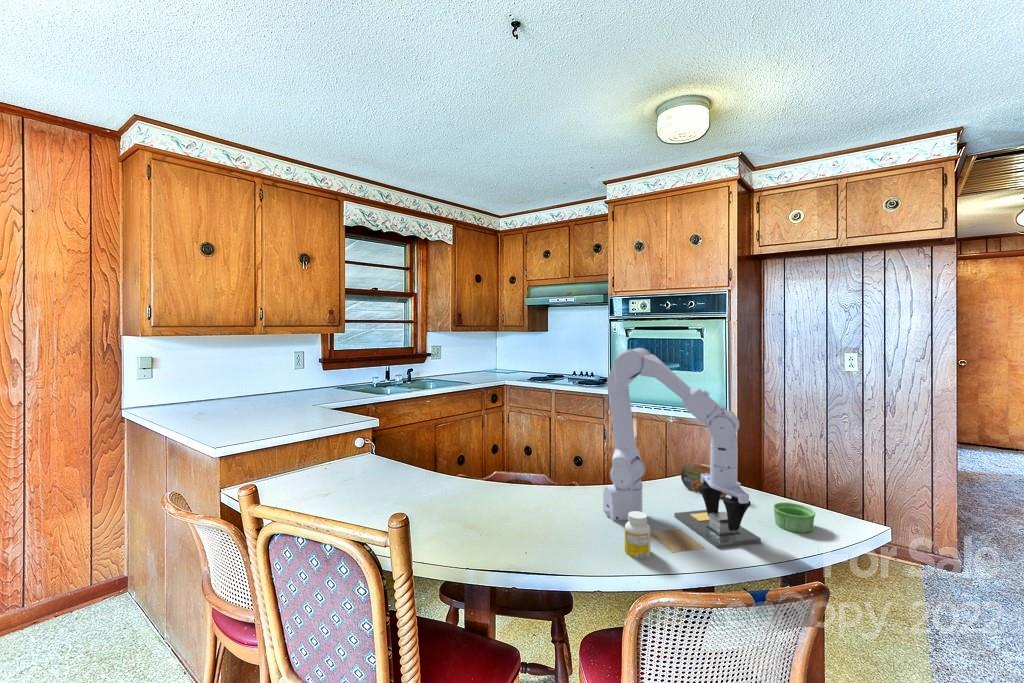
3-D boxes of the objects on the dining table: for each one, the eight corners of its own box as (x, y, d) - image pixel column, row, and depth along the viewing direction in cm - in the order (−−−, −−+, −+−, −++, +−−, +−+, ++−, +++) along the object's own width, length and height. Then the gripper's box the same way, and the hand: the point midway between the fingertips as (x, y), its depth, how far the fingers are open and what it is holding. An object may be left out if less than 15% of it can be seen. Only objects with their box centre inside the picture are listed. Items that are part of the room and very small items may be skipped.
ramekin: (824, 532, 114) (824, 514, 114) (791, 536, 112) (791, 517, 112) (795, 517, 123) (796, 501, 123) (764, 520, 121) (765, 503, 121)
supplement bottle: (643, 567, 99) (643, 522, 98) (620, 559, 102) (620, 515, 102) (654, 557, 103) (654, 513, 102) (631, 550, 106) (631, 507, 106)
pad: (671, 559, 102) (672, 552, 102) (648, 538, 112) (648, 532, 112) (705, 555, 104) (705, 548, 103) (679, 535, 113) (679, 528, 113)
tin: (680, 488, 145) (680, 460, 145) (685, 485, 147) (685, 458, 147) (730, 501, 134) (730, 472, 134) (734, 498, 136) (735, 469, 136)
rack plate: (716, 554, 104) (717, 542, 103) (674, 522, 120) (674, 512, 120) (760, 549, 106) (760, 537, 106) (713, 518, 122) (713, 508, 122)
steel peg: (719, 546, 108) (719, 520, 107) (708, 538, 112) (708, 513, 111) (735, 544, 108) (735, 518, 108) (724, 536, 112) (724, 511, 112)
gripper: (761, 473, 103) (760, 534, 104) (718, 454, 117) (718, 509, 118) (732, 475, 102) (732, 538, 102) (693, 456, 116) (692, 511, 116)
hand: (722, 522), depth 110 cm, fingers open, 7 cm apart
